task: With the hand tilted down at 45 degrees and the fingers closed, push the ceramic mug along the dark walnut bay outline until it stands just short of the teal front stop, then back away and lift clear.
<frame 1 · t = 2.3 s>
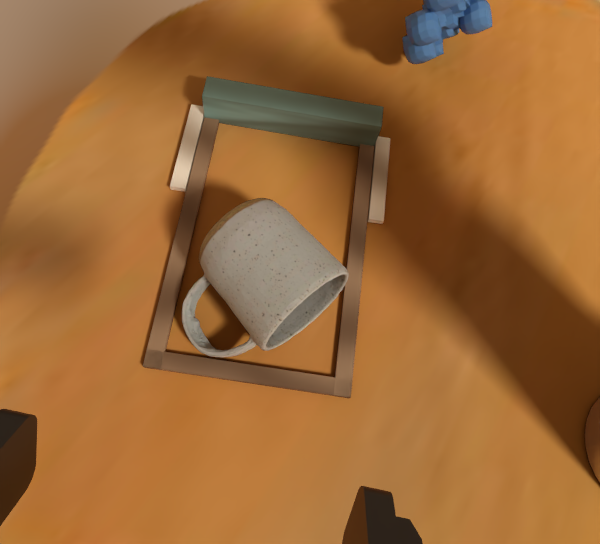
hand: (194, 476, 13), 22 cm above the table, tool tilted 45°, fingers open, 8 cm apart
grapes: (431, 61, 48), on the table
bay: (272, 234, 40), on the table
ceramic mug: (256, 303, 38), on the table
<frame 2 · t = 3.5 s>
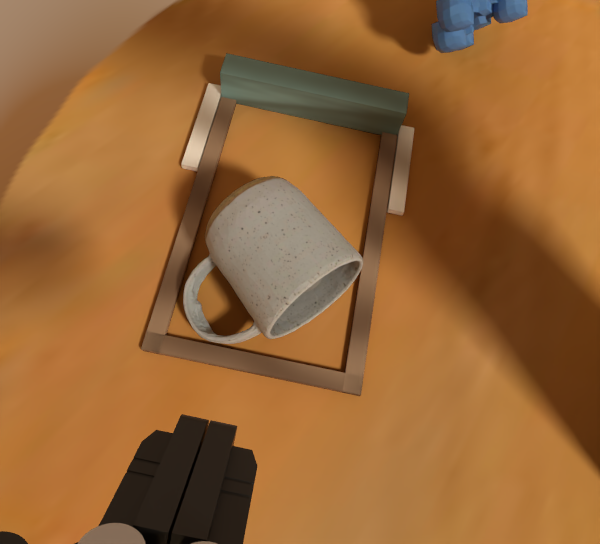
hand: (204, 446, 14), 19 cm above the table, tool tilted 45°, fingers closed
grapes: (460, 53, 46), on the table
bay: (286, 220, 38), on the table
ceramic mug: (263, 290, 36), on the table
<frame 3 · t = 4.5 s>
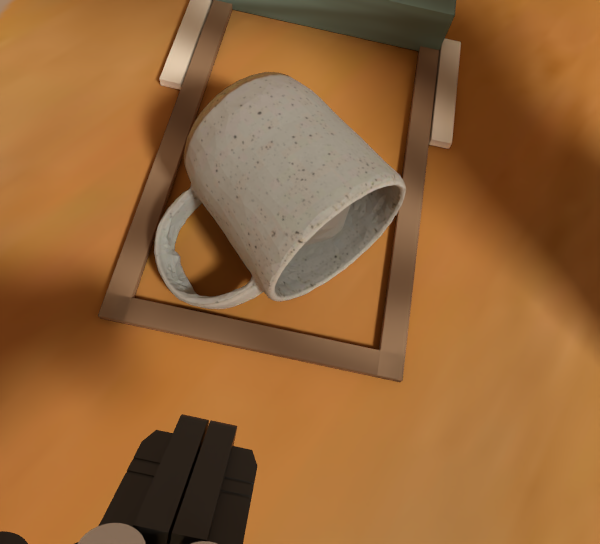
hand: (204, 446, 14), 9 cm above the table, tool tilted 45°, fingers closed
bay: (297, 152, 29), on the table
ceramic mug: (265, 241, 27), on the table
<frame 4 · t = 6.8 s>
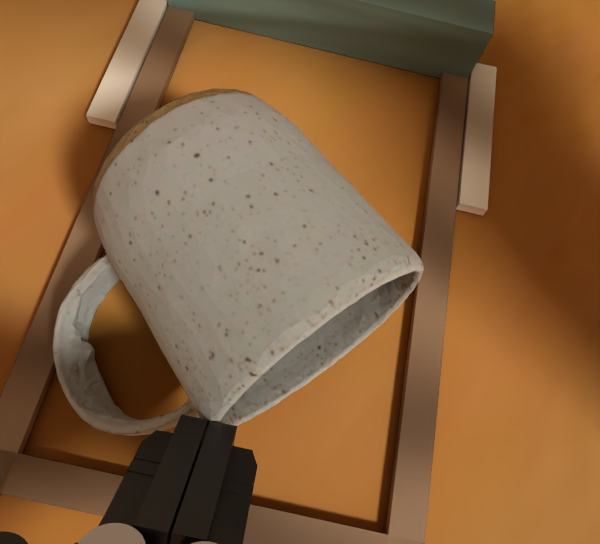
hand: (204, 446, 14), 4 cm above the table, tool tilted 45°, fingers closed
bay: (274, 220, 21), on the table
ceramic mug: (221, 321, 19), on the table, touching gripper
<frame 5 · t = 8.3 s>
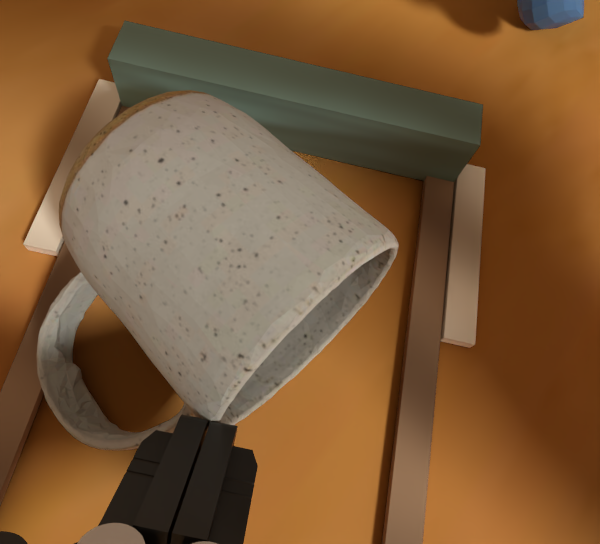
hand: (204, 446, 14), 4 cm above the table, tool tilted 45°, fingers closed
grapes: (552, 34, 27), on the table
bay: (235, 363, 18), on the table
ceramic mug: (205, 324, 19), on the table, touching gripper
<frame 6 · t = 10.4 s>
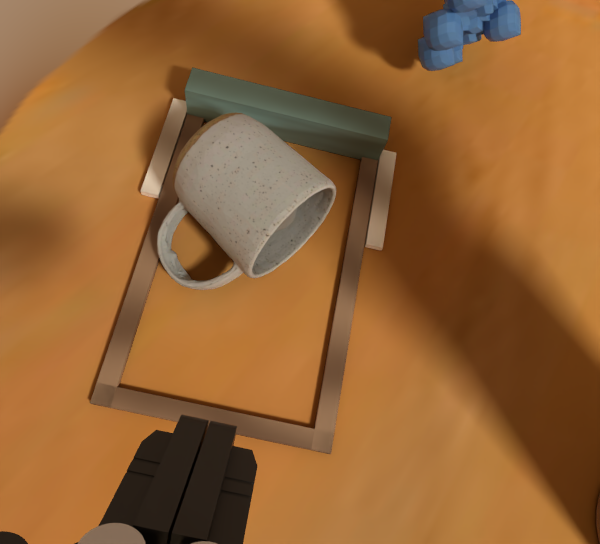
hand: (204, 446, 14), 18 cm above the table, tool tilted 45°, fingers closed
grapes: (447, 69, 43), on the table
bay: (254, 255, 35), on the table
ceramic mug: (237, 235, 35), on the table, touching bay
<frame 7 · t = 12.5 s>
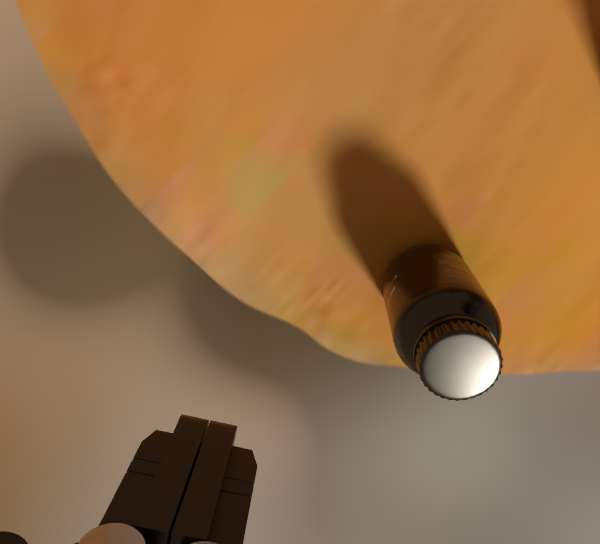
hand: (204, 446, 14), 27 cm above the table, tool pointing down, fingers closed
supplement bottle: (424, 283, 41), on the table
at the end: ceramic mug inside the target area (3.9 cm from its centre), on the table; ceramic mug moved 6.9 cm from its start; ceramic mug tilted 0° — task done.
